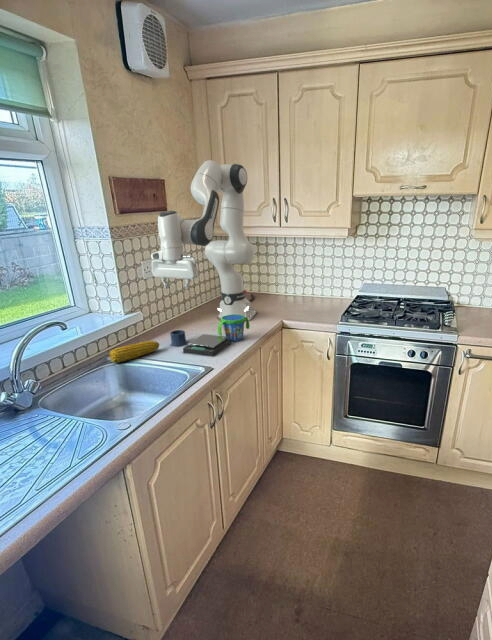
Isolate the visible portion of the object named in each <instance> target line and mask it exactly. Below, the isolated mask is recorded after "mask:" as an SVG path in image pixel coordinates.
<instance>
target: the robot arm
mask: <svg viewBox="0 0 492 640" xmlns="http://www.w3.org/2000/svg"><path fill="white" fill-rule="evenodd" d="M247 184H248V173H247V169H246V168H245V167H244V166H243V165H242V164H240V163H233V164H232V163H231V164H230V163H225V164H224V163H222V164H219V163H218V162H217V161H215V160H211V159H208V160H205V161H204V162H203V163H202V164H201V165H200V167H199V168H198V170H197V171H196V173H195V175H194V177H193V179H192V180H191V183H190V193H191V196H192V198H193V199H194V200H195V201H196V202H197V203H198V204H199V205H202V206H204V207H203V211H202V215H201V217H200V218H197V219H185V218H183V217H181V216H180V215H179V213H178V211H175V210H167V211H162V212H160V213H159V214H158V217H157V229H158V230H157V231H158V237H159V240H160V246H159V247H160V250H158V251H155V252H153V253H151V254H150V259H151V262H150V265H151V267H150V268H151V274H152V276H153V277H154V278H160V281H161V283H162V284H163V286H164V289H170V288H171V286H170V283H168V281H167V280H168V279H183V280H184V282H185V284H184V285H183V290H186V291H188V290H190V283H191V281H192V280H196V279H197V278H198V277H199V273H198V272H199V271H198V267H197V259H196V258H195V257H194V256H193V255H192V254H189V255H187V254H185V252H184V251H185V250H184V245H189V246H190V245H192V246H194V245H195V246H201V247H205V248H204V254H205V257H206V259H207V261H208V262H210V263H211V265H213V266H214V268H215V269H216V271H217V273H218V276H219V280H220V289H221V292H220V299H221V300H220V302H219V307H217V311H219V314H218V315H217V318H219V319H220V320H221V318H222V317H223V316H226V315H233V314H237V315H243V316H245V317H246V318H247V319H248V321H252V319H253V318H254V317H255V316H256V314H257V310H255V309H253V307H252V301H253V300H254V294H253V293H251V294H250V296H251V298H250V299H249V300H248V298H246V295H247V294H248V291H247V289H244V280H243V275H242V274H241V273H240V272H239V271H237V270H236V269H235V268H234V266H233V265H247V264H251V263H252V262H253V260H254V258H255V255H256V254H255V248H254V246H253V244H252V243H251V242H250V241H249V240H248V238H247V236H246V235H245V231H244V215H245V201H244V200H245V199H244V193H243V192H244V190H245V188H246V186H247ZM218 192H221V193H222V198H221V204H220V196H219V193H218ZM219 207H220V215H219V216H220V218H219V225H220V228H221V230H222V231H224V232H225V233H226V234H227V235H228V240H223V239H222V240H221V239H220V240H219V239H217V240H213V238H214V229H215V224H216V219H217V215H218V212H219ZM245 321H246V319H245Z"/></svg>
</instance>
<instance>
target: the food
mask: <svg viewBox="0 0 492 640" xmlns="http://www.w3.org/2000/svg"><path fill="white" fill-rule="evenodd" d="M159 347H160V342H158V341H156V340H146V341H141V342H135V343H130V344H128V345H124V346H119V347H116V348H114V349H111V350H110V351H109V353H108V355H109V359H110V362H112V363H115V364H117V363H122V362H126V361H130V360H133V359H136V358H139V357H142V356H145V355H149V354H150V353H154V352H155V351H156V350H158V349H159Z"/></svg>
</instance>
